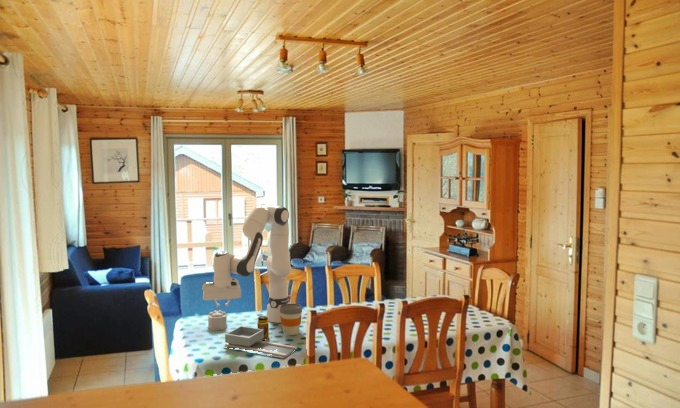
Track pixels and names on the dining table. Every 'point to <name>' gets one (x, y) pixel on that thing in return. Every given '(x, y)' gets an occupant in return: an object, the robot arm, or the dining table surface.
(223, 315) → the lumpy-topped squat cylinder
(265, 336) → the condiment
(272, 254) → the robot arm
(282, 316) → the reusable coffee cup
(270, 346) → the rail track
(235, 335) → the tray
